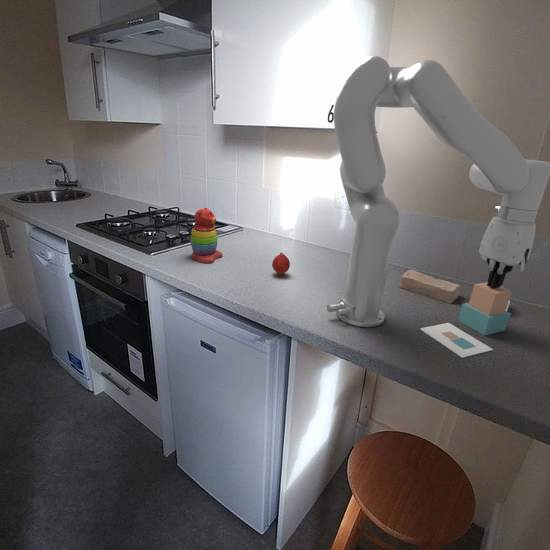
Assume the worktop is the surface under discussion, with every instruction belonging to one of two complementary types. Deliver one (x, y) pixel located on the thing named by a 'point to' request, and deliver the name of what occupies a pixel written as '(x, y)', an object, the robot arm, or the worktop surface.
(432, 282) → the brick
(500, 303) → the clay block
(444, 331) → the page
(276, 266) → the onion
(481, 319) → the base block
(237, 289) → the worktop surface
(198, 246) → the stacking bear
